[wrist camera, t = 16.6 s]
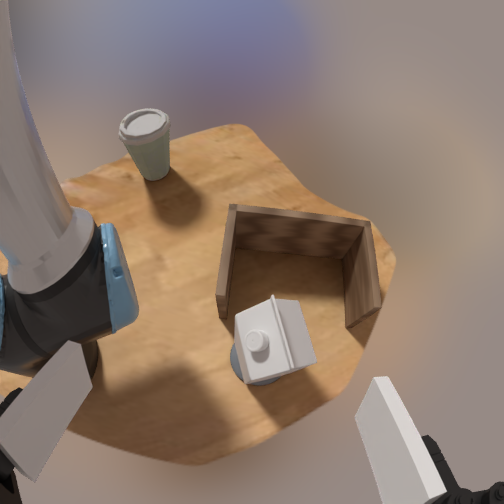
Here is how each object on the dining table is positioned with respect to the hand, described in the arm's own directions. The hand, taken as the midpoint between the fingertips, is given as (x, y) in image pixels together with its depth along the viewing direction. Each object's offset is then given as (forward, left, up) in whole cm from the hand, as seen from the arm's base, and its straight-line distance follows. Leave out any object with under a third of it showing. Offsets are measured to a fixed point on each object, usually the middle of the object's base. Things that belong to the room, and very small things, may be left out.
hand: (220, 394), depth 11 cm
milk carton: (+4, +6, -31) cm, 32 cm away
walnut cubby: (+8, +19, -32) cm, 38 cm away
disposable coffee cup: (-22, +43, -32) cm, 58 cm away
